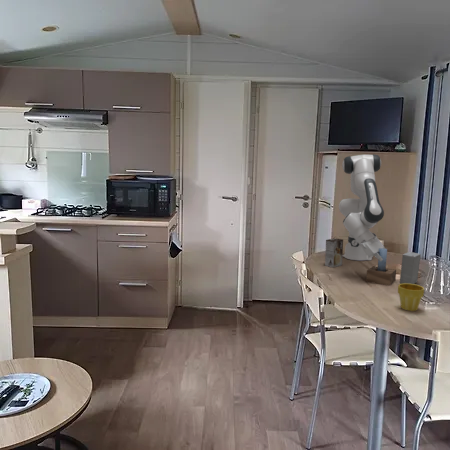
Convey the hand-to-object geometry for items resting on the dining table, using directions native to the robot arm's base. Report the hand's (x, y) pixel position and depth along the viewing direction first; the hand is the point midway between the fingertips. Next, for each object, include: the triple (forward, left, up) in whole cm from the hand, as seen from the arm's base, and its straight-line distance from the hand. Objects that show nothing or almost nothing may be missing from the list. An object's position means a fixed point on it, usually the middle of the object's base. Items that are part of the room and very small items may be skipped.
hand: (383, 259), depth 228 cm
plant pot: (+37, +21, -12) cm, 44 cm away
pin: (0, -1, -6) cm, 6 cm away
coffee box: (-18, -34, -12) cm, 40 cm away
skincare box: (-5, +12, -12) cm, 18 cm away
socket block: (0, -1, -12) cm, 12 cm away
